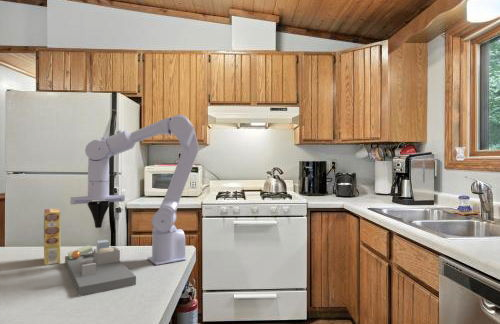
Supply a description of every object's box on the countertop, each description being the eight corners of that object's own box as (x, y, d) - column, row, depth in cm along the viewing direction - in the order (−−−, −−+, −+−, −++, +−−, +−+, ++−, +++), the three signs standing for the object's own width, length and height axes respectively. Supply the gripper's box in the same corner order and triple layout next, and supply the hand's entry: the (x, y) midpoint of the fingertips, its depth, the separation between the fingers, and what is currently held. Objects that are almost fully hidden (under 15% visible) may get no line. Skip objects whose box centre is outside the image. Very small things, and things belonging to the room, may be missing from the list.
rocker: (90, 247, 97) (89, 244, 97) (92, 250, 93) (91, 247, 93) (68, 256, 93) (67, 252, 93) (70, 259, 90) (69, 256, 90)
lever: (91, 265, 81) (76, 247, 79) (93, 268, 79) (78, 250, 77) (83, 270, 80) (69, 253, 78) (85, 273, 78) (70, 255, 76)
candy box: (60, 263, 94) (61, 211, 94) (43, 265, 91) (44, 212, 92) (59, 256, 101) (59, 208, 101) (43, 258, 99) (43, 209, 99)
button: (112, 256, 92) (112, 246, 92) (115, 259, 89) (115, 249, 89) (97, 258, 90) (97, 248, 90) (100, 262, 87) (100, 251, 87)
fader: (106, 251, 99) (106, 239, 99) (109, 253, 96) (109, 241, 96) (96, 252, 97) (96, 240, 97) (98, 255, 94) (98, 243, 94)
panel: (108, 256, 101) (108, 240, 101) (135, 284, 76) (136, 263, 77) (64, 263, 94) (65, 246, 94) (79, 296, 70) (79, 273, 70)
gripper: (120, 180, 102) (120, 223, 102) (69, 181, 94) (68, 227, 94) (126, 181, 97) (126, 226, 96) (72, 182, 88) (71, 231, 88)
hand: (98, 227), depth 95 cm, fingers closed
